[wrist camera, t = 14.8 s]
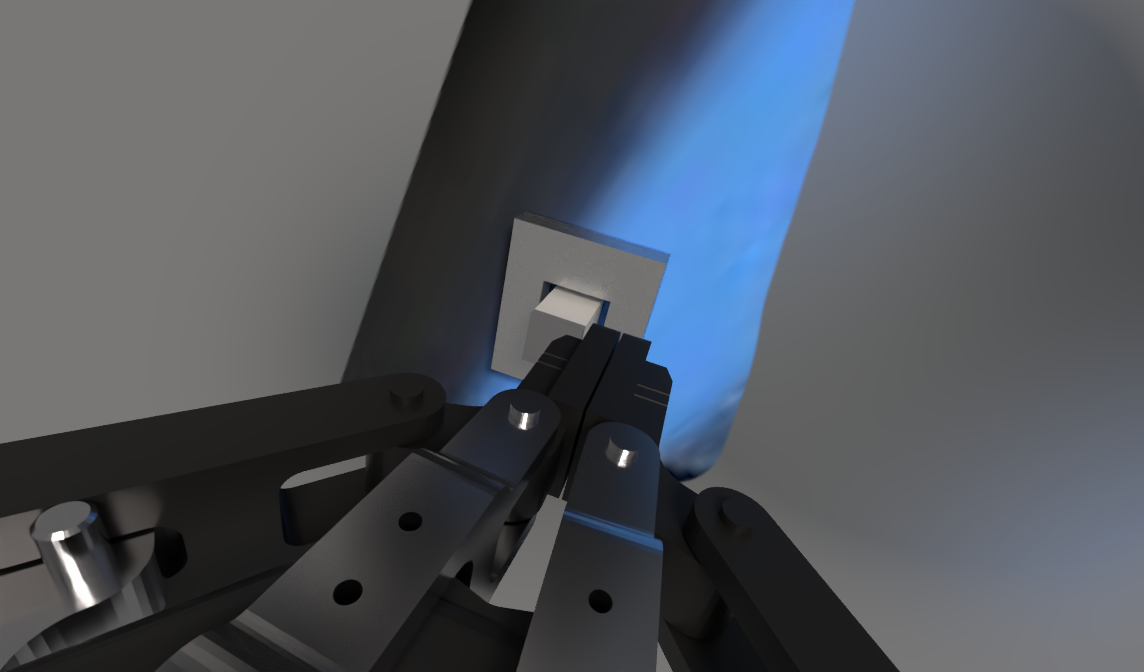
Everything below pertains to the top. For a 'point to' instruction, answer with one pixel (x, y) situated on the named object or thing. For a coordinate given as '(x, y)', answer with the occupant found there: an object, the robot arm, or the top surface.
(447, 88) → the top surface
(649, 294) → the socket
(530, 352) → the plug
